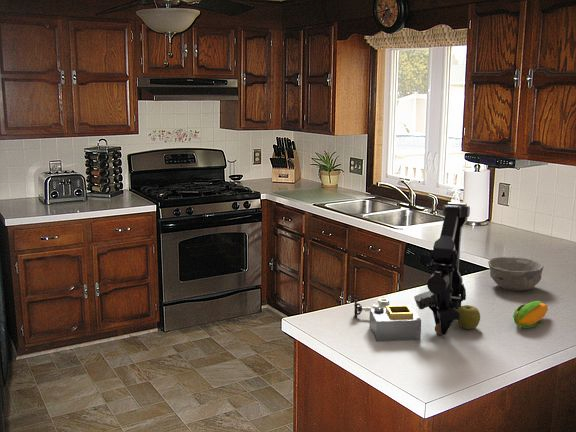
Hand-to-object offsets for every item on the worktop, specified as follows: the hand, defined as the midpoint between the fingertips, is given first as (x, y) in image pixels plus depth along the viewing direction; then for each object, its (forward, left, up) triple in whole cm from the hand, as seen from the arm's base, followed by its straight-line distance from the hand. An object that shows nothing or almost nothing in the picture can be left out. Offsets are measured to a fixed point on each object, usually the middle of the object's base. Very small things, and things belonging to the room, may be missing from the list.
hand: (440, 331), depth 200 cm
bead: (0, 0, -1) cm, 1 cm away
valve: (+19, -17, -1) cm, 26 cm away
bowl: (-42, -45, -1) cm, 62 cm away
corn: (-33, -8, -1) cm, 34 cm away
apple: (-10, -5, -1) cm, 12 cm away
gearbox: (+15, -2, -1) cm, 15 cm away
